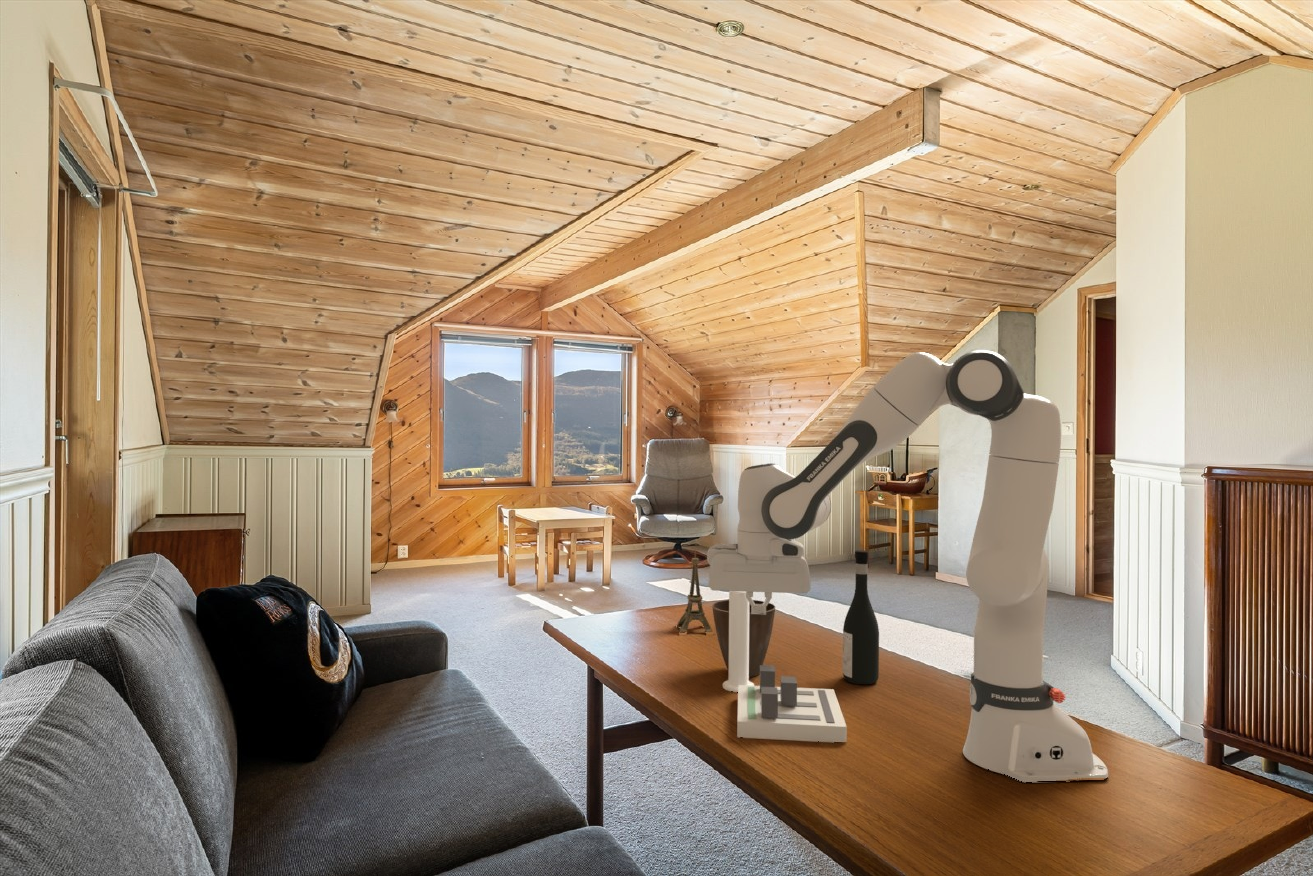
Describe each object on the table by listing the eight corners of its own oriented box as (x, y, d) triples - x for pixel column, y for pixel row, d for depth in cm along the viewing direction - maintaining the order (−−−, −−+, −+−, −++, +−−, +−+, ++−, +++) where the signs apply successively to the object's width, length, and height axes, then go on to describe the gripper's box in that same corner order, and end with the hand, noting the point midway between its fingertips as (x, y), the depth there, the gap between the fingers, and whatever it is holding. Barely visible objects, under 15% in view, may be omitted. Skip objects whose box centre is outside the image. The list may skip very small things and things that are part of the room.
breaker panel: (833, 703, 162) (833, 688, 162) (846, 743, 141) (846, 725, 141) (738, 699, 164) (738, 684, 164) (737, 737, 143) (737, 720, 143)
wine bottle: (841, 684, 174) (842, 552, 174) (843, 673, 182) (844, 547, 182) (878, 687, 172) (879, 554, 172) (878, 677, 180) (880, 549, 180)
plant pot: (704, 678, 178) (705, 609, 177) (720, 660, 192) (720, 597, 192) (768, 686, 173) (769, 615, 173) (779, 667, 187) (780, 601, 187)
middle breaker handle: (795, 698, 154) (795, 677, 154) (796, 705, 150) (797, 683, 150) (780, 698, 154) (780, 676, 154) (781, 705, 150) (781, 682, 150)
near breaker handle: (776, 710, 148) (777, 687, 148) (777, 717, 144) (777, 694, 144) (761, 709, 148) (761, 686, 148) (761, 717, 144) (761, 693, 144)
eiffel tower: (710, 626, 227) (711, 541, 227) (715, 635, 217) (716, 547, 216) (674, 626, 226) (675, 541, 226) (678, 635, 216) (678, 547, 216)
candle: (753, 694, 167) (754, 579, 167) (720, 691, 169) (721, 578, 168) (755, 683, 174) (756, 574, 174) (724, 681, 176) (725, 572, 175)
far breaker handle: (774, 686, 162) (774, 665, 162) (774, 692, 158) (775, 671, 158) (759, 685, 162) (759, 665, 162) (760, 692, 158) (760, 670, 158)
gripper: (706, 545, 151) (705, 615, 151) (811, 548, 149) (811, 619, 149) (708, 541, 157) (707, 608, 157) (809, 543, 155) (808, 612, 155)
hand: (758, 613), depth 153 cm, fingers closed
